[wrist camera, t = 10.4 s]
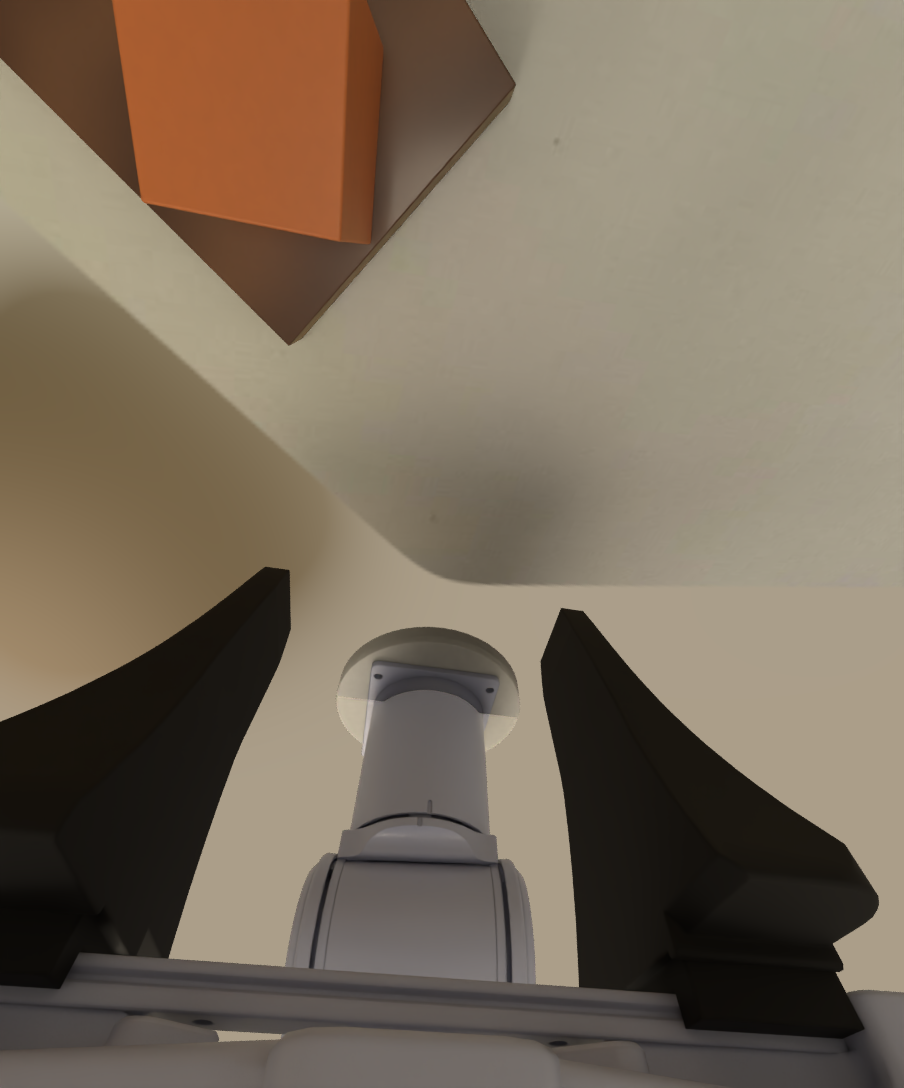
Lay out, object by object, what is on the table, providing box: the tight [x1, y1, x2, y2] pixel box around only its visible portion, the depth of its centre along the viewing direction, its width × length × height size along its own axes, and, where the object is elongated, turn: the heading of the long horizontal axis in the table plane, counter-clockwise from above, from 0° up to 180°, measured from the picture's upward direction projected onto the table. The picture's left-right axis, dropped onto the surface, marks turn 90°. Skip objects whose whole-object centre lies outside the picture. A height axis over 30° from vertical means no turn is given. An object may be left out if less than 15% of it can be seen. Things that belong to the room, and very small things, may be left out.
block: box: [112, 0, 383, 244], centre depth 11 cm, size 4×4×4 cm
